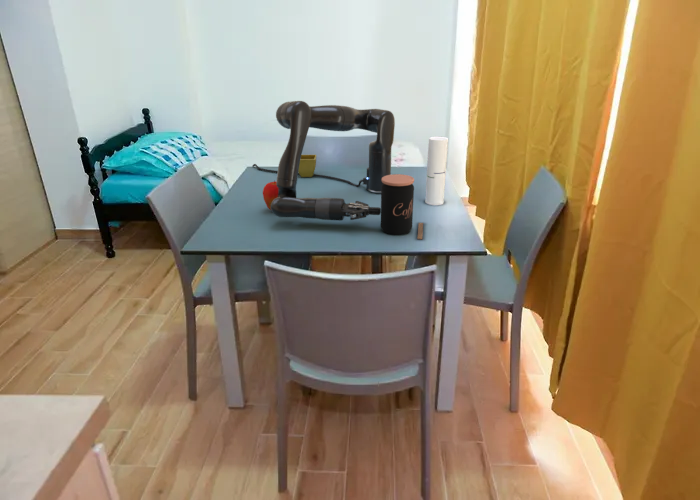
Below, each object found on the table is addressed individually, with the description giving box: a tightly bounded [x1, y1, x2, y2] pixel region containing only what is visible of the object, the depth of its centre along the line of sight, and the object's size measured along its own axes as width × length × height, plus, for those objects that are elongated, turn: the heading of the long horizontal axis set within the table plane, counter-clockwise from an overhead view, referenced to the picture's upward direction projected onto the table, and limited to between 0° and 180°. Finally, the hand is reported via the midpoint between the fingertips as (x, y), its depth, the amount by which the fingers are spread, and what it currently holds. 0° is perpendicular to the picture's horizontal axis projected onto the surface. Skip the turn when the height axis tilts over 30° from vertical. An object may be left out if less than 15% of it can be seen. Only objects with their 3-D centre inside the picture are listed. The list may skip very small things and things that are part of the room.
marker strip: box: [416, 222, 424, 241], centre depth 165 cm, size 2×14×1 cm, turn 171°
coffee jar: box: [380, 173, 415, 236], centre depth 163 cm, size 11×11×18 cm
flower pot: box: [298, 154, 317, 178], centre depth 226 cm, size 9×9×9 cm
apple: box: [262, 180, 278, 211], centre depth 183 cm, size 9×9×12 cm
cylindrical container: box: [424, 135, 449, 206], centre depth 187 cm, size 7×7×25 cm
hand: (380, 211), depth 164 cm, fingers closed
